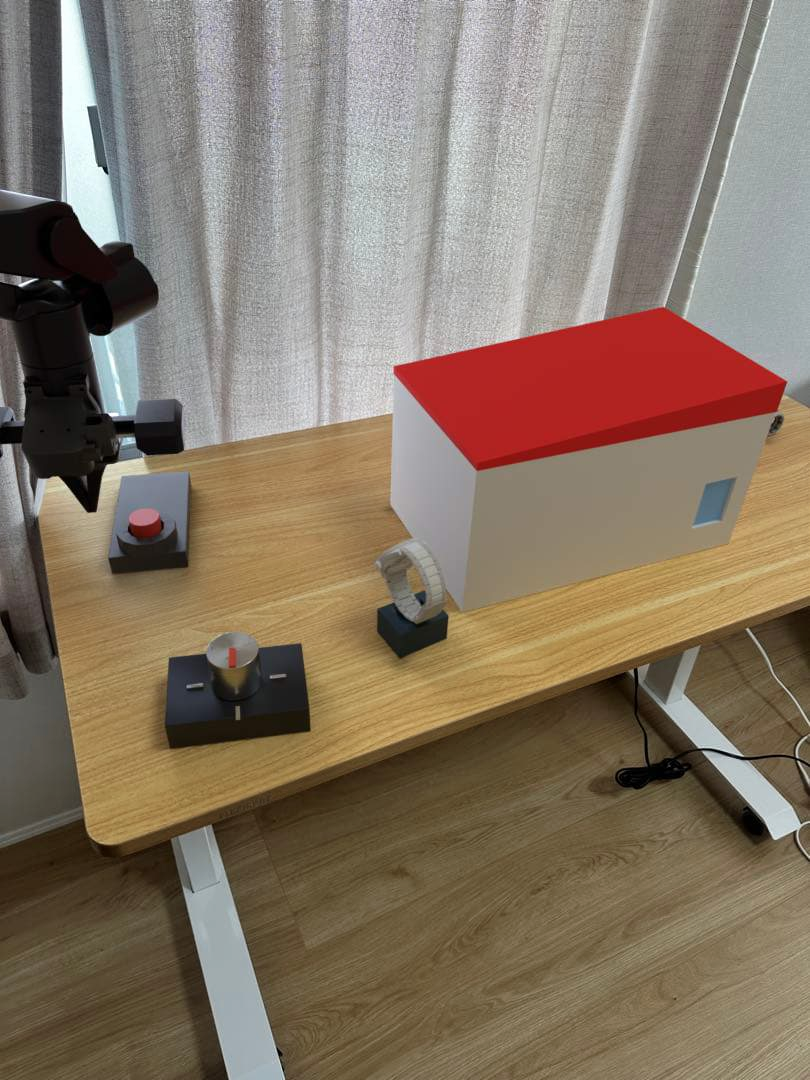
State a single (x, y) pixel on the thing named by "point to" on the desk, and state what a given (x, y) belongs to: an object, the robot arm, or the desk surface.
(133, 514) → the bell button
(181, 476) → the dark grey button base
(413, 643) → the watch
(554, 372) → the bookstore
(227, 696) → the lock knob
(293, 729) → the lock panel
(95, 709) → the desk surface
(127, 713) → the desk surface
